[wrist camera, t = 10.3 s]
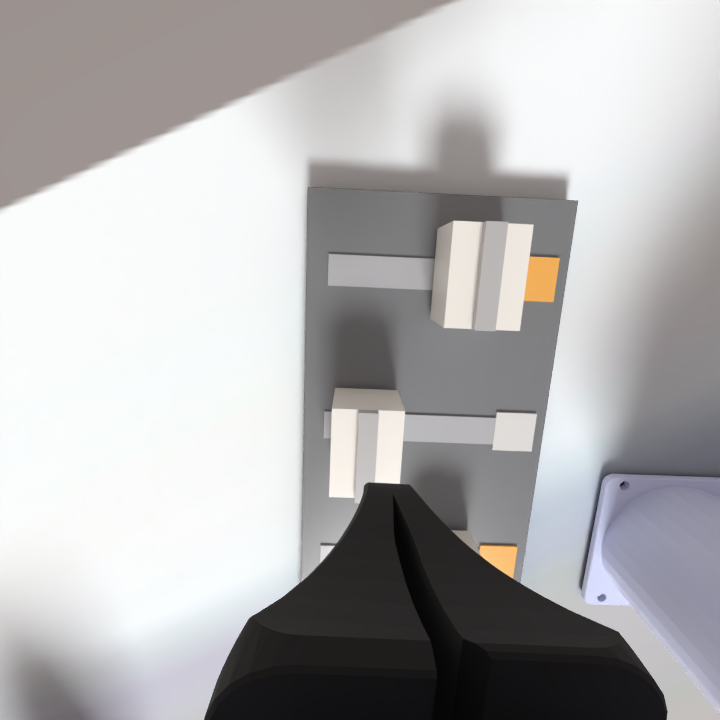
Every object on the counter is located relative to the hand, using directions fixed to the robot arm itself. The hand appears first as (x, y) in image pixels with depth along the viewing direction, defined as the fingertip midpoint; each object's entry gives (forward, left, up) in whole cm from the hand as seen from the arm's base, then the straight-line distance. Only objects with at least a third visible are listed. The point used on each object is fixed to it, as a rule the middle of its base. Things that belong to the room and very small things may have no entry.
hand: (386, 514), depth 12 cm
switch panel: (-3, +1, -10) cm, 10 cm away
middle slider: (0, +1, -9) cm, 9 cm away
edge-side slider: (-4, -7, -9) cm, 12 cm away
